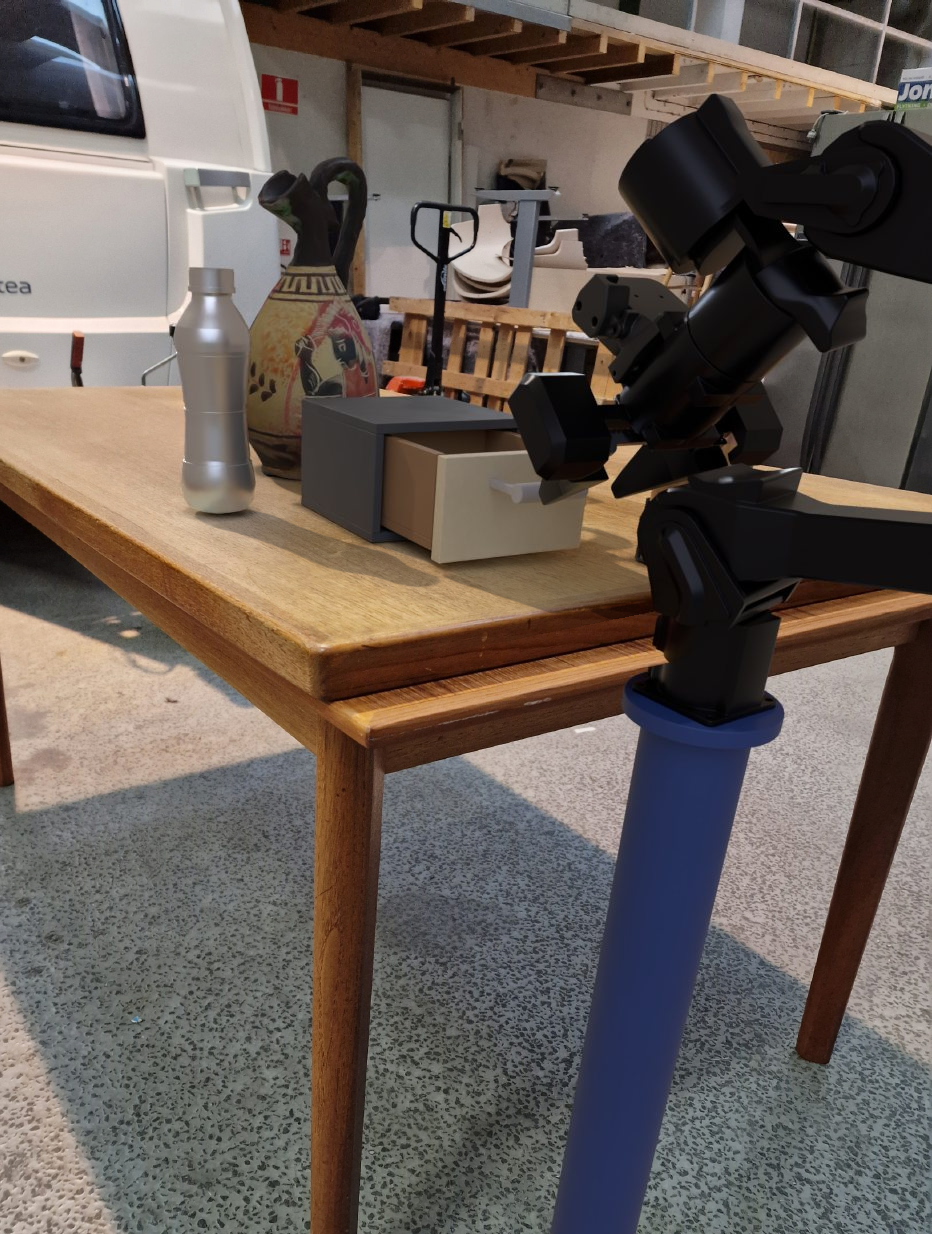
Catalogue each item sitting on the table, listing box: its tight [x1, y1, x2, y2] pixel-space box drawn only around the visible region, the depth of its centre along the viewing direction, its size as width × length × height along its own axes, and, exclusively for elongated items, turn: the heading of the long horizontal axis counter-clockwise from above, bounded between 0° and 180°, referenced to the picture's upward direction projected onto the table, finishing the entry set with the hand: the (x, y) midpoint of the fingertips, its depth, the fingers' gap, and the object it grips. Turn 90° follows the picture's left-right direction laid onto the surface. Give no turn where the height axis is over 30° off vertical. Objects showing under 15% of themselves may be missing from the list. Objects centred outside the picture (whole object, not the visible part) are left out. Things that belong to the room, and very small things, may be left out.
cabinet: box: [300, 394, 520, 544], centre depth 87 cm, size 15×15×10 cm
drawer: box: [380, 429, 590, 564], centre depth 77 cm, size 18×13×8 cm
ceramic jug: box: [246, 156, 381, 481], centre depth 99 cm, size 17×15×30 cm
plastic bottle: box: [173, 266, 257, 515], centre depth 83 cm, size 6×7×20 cm
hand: (579, 496), depth 67 cm, fingers open, 6 cm apart
